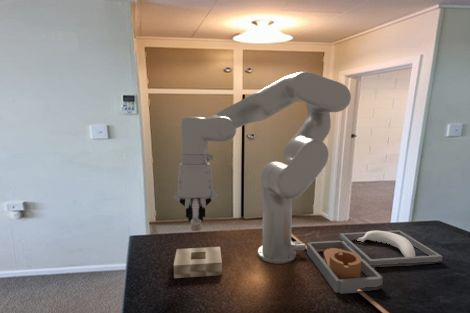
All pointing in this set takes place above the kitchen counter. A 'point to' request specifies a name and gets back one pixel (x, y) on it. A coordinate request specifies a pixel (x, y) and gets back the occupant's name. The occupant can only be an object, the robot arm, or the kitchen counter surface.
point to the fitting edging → (335, 283)
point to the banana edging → (431, 258)
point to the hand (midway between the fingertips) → (195, 218)
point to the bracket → (343, 263)
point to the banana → (390, 241)
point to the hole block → (197, 262)
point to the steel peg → (195, 214)
